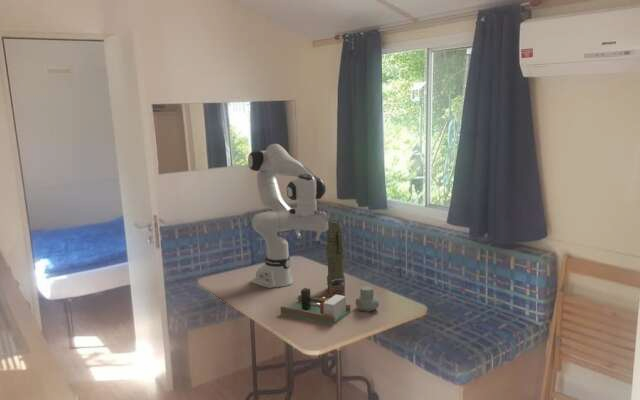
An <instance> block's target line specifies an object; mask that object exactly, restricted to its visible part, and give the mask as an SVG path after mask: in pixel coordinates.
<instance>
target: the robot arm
mask: <svg viewBox="0 0 640 400" xmlns="http://www.w3.org/2000/svg"><path fill="white" fill-rule="evenodd" d="M265 149H266V150H254V151H251V152H250V153H249V154H248V158H247V164H248V168H249V169H250V171H253V172H254V171H255V172H257V174H256V181H257V182H256V184H257V185H256V186H257V190H258V191H257V192H258V193H259V199H260V202H261V204H262V205H263V206H264V207H265V208H267V209H270V211H263V212H260V213H256V214H255V215H254V216H253V217H252V220H251V225H252V228H253V230H254V231H255V232H256V233H257V234H259V235H261V237H262V238H263V239H264V241H265V244H266V250H267V256H266V257H265V258H264V259H263V261H264V264H263V265H262V266H260V267H259V268H258V269H256V271H255V277H253V278H252V279H251V282H250V283H251V284H253V285H257V286H261V287H264V288H269V289H271V288H272V289H273V288H279V287H280V288H281V287H286V286H289V285H291V284H293V283H294V280H293V277H292V273H291V267H290V266H291V260H290V254H289V243H288V241H287V239H285V238H284V237H280V236H278V232H284V231H291V230H294V232H295V234H296V237H297V239H299V240H301V239H302V238H303V235H302V234H301V232H300V231H307V232H315V233H316V236H315V237H314V241H316V242H319V241H320V236H321V234H322V233H327V230H328V223H329V221H328V214H327V213H326V212H325V211H324V210H323V211H320V210H318V207H317V206H318V203H317V200H320V199H322V197H324V195H325V193H326V184H325V183H324V181H323V179H321V178H319V177H318V176H316V175H315V174H314V173H313V172H312V171H311V170H310V169H309V168H308V167H307V166H306V165H305V164H303V163H302V162H300V161H299V160H296V159H295V158H293V157H292V156H291V155H290V154H289V152H287V150H286V149H285V148H284V147H283V146H282V145H280V144H279V143H272V144H269V145H268V146H267V147H266V148H265ZM277 175H278V176H282V177H283V176H284V177H285V176H286V177H295V178H296V177H297V178H296V179H294V180H291V181H289V182H288V183H287V186H286V196H287V198H288V199H290V200H291V201H294V202H295V201H296V202H297V205H296V206H295V207H291V206H290V205H288V204H287V203H286V202H285V200H284V199H283V196H282V193H281V190H280V187H279V182H278V180H277Z"/></svg>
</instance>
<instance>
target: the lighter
mask: <svg viewBox="0 0 640 400" xmlns="http://www.w3.org/2000/svg"><path fill="white" fill-rule="evenodd" d="M338 282H339V283H338ZM341 282H344V280H343V279H338V280H337V279H334V280H331V284H330V285H329V291H328V293H329V298H328V300H329V299H330V298H331V297H333V296H334V295H342V296H346V282H345V283H341Z"/></svg>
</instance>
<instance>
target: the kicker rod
mask: <svg viewBox="0 0 640 400" xmlns="http://www.w3.org/2000/svg"><path fill="white" fill-rule="evenodd" d="M300 295H301V303H302V309H304V310H308V309H310V308H311V306H316V307H320V313H321V314H324V305H323V303H324V302H326V300H327V299H326V297H325V296H322V297H320V298H319V299H320V300H321V302H322V303H321V304H320V303H314V302H311V300H310V297H311V288H307V287H304V288H302V289H300Z"/></svg>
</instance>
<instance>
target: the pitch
mask: <svg viewBox="0 0 640 400" xmlns="http://www.w3.org/2000/svg"><path fill="white" fill-rule="evenodd" d="M320 299H321V298H317V297H311V296H310V300H311V302H314V303H320V304H321V303H322V302H321V300H320ZM323 305H324V314H321V313H320V307H316V306H311V308H310V309H308V310H304V309H302V303H301V294H299V295H297V301H296V302H295V303H293V304H291V305H290V306H284V305H282V306H280V315H283V316H288V317H293V318H297V319H301V320H307V321H311V322H312V321H313V322H315V323H316V322H317V323H322V324H328V325H332V326H335V325H336V324H337V323H338V322H340V321H341V320H342V319H343V318H344V317H346V316H347V315H349V313H351V303H347V296H346V295H345V296H342V295H334V296H333V297H331V298H330V299H329V298H328V299H326V302H324V303H323Z"/></svg>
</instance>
